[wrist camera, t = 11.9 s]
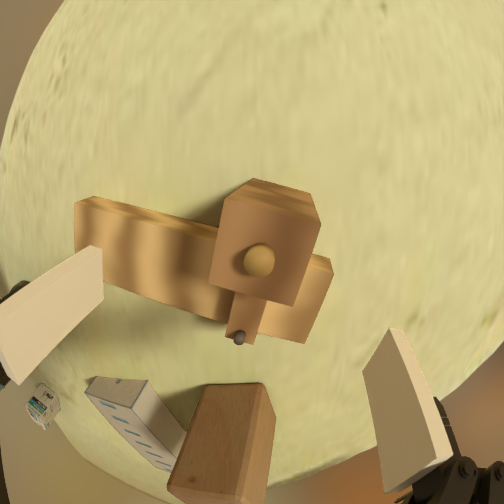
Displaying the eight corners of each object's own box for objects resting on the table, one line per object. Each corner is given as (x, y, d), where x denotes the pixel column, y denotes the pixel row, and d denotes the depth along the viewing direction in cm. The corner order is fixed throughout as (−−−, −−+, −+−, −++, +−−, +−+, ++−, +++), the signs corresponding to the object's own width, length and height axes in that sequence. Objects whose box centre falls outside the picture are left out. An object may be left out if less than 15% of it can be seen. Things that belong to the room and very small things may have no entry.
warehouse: (97, 374, 46) (79, 398, 39) (148, 378, 43) (131, 408, 36) (162, 451, 55) (153, 472, 48) (210, 457, 52) (202, 482, 45)
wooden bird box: (225, 300, 33) (190, 378, 21) (253, 178, 28) (219, 202, 15) (272, 313, 33) (258, 398, 21) (310, 193, 27) (323, 230, 15)
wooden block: (203, 382, 40) (161, 489, 21) (265, 380, 37) (242, 503, 19) (223, 417, 43) (194, 511, 24) (277, 416, 41) (262, 520, 22)
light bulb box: (41, 381, 55) (22, 403, 45) (57, 395, 56) (39, 418, 46) (46, 397, 59) (30, 418, 50) (61, 409, 60) (45, 431, 50)
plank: (93, 257, 34) (75, 269, 31) (94, 196, 31) (74, 202, 27) (304, 323, 33) (304, 344, 29) (329, 258, 29) (334, 274, 26)
